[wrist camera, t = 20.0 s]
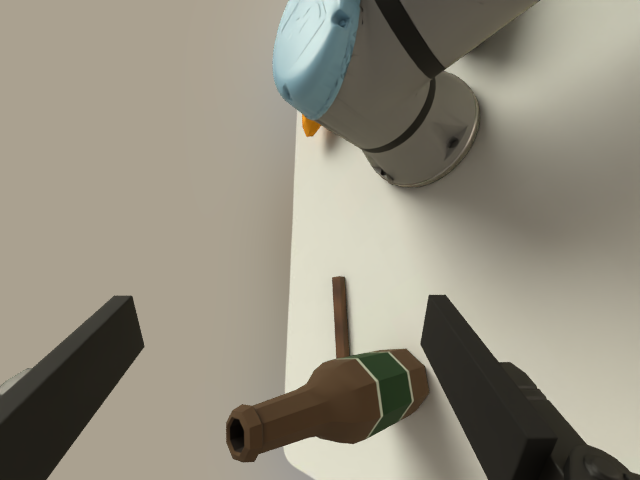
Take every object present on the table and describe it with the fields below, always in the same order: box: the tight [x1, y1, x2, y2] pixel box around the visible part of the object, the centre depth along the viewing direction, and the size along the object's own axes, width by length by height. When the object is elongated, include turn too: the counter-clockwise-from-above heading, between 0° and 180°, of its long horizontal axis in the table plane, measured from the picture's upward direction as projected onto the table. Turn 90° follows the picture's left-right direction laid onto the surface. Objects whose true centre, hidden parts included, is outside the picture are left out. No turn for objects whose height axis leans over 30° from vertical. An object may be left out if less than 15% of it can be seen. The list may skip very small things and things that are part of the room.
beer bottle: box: [226, 349, 429, 462], centre depth 30 cm, size 8×8×24 cm
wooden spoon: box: [332, 276, 349, 359], centre depth 45 cm, size 20×6×1 cm, turn 4°
